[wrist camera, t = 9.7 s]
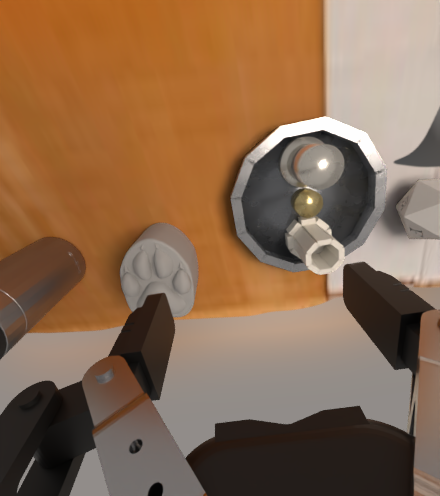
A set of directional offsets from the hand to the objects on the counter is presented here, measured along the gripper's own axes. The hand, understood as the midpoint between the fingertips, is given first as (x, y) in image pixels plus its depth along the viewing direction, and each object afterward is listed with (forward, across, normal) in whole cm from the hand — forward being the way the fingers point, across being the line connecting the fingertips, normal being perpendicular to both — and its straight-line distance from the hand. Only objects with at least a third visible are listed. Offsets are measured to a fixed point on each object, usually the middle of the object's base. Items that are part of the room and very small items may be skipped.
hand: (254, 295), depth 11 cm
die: (+28, -28, +7) cm, 40 cm away
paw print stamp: (+29, +12, +10) cm, 33 cm away
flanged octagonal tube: (+27, -11, +9) cm, 31 cm away
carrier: (+28, -11, +3) cm, 31 cm away
